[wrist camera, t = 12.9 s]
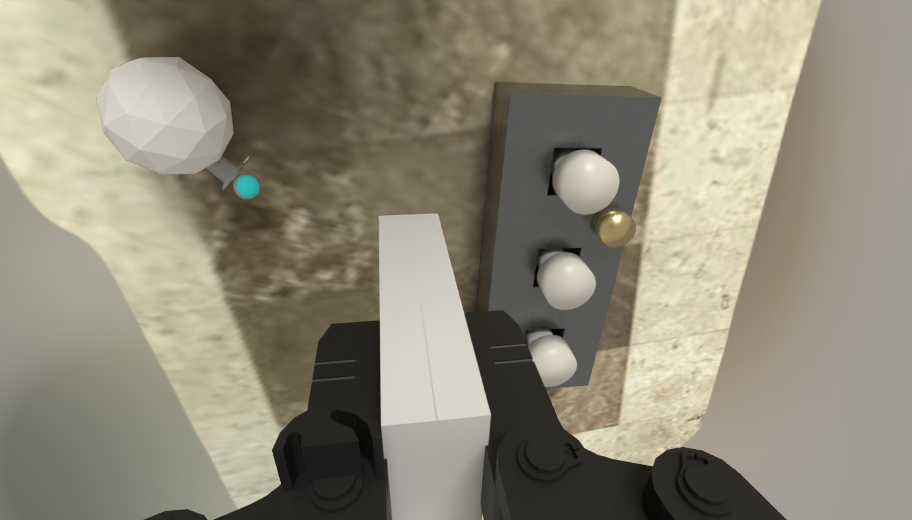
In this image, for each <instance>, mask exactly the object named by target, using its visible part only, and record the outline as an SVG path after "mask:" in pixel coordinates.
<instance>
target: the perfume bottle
mask: <svg viewBox="0 0 912 520" xmlns="http://www.w3.org/2000/svg"><path fill="white" fill-rule="evenodd" d="M97 104H98V108H99V113H100V117H101V122H102V126H103V131H104V134H105V136H106V137H107V138H108V139H109V140H110V142H111V143H112V144H113V145H114V146H115V148H116V149H117V150H118V151H119V152H120V153H121V155H122V156H123V157H124V158H125V159H126V160H127V161H130V162H132V163H135V164H137V165H140V166H142V167H145V168H147V169H150V170H152V171H155V172H157V173H159V174H196V173H198V172H200V171H201V170H203V169H205V168H206V169H208V170H209V171H210V172H211V173H213V174H214V175H215V176H216V177H217V178H218V179H220V180H221V181H222V182H223V183H224V185H223V188H222V190H221V192H222V191H223V190H224V189H225V188H226V187H227V185H228V184H229V183H230V182H232V183H233V187H234V191H235V193H236V195H237V196H238V197H240V198H242V199H246V200H248V199H252V198H254V197H255V196H257V195H258V193H259V191H260V184H259V181H258V180H257V179H256V178H255V177H253V176H251V175H248V174H243V175H240V176H237V175H238V172H239V170H240V169H241V167H242V166H243V165H244V163H245V162H246V161H247V160H248V158H249V156H248V157H247V158H246V159H245V160H244V161H243V162H242V163H241V164H242V165H240V166H238V167H236V166H234V165H233V164H232V163H231V162H229V161H228V160H227V159H226V158H225V157H224V156H223V155H222V154H223V153H224V151H225V149H226V147H227V145H228V143H229V141H230V140H231V138H232V136H233V134H234V131H233V123H232V114H231V106H230V101H229V100H228V99H227V98H226V97H225V95H224V94H223V93H222V92H221V91H220V89H219V88H218V87H217V86H216V85H215V83H214V82H213V81H212V80H211V79H210V78H209V77H208V76H206V75H205V74H203V73H202V72H200V71H199V70H197V69H196V68H194V67H193V66H191V65H190V64H188V63H187V62H186V61H184V60H183V59H181V58H180V57H151V58H138V59H135V60H133V61H130V62H127V63H125V64H122V65H119V66H117V67H114V68H112V69H111V71H110V73H109V75H108V77H107V79H106V81H105V83H104V85H103V87H102V89H101V91H100V93H99V95H98V97H97Z"/></svg>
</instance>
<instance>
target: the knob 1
mask: <svg viewBox="0 0 912 520" xmlns="http://www.w3.org/2000/svg"><path fill="white" fill-rule="evenodd" d="M525 340H526V343H527V345H528V348H529V350H530V353H531V355H532V357H533V362H535V365H536V367H537V369H538V372H539V374H540V377H541V379H542V381H543V384H544V386H545V387H553V386H557V385H560V384H563V383H564V382H566V381H567V380H569V379H570V378H571V377H572V376H573V374H574V373H575V371H576V368H577V361H576V359H575V357H574V355H573V353H572V352H571V350H570V348H569V346H568V344H567V342H566V341H565V340H564V339H563V338H562V337H560V336H557V335H553V333H552V331H551V330H550V329H544V330H526V334H525Z"/></svg>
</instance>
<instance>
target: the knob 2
mask: <svg viewBox="0 0 912 520" xmlns="http://www.w3.org/2000/svg"><path fill="white" fill-rule="evenodd" d="M551 175H552V176H553V179H552V183H553V188H554V191H555V193H556V194H557V195H558V197H559V198H560V199H561V200H562V201H563V202H564V203H565V204H566V205H567V206H568V208H569V209H571V210H572V211H573V212H575V213H578V214H585V215H586V214H593V213H596V212H598V211H600V210H602V209H604V208H605V207H606V206H608V205H609V204H610V203H611V201H612V200H613V199H614V197H615V195H616V193H617V191H618V188H619V175H618V172H617V170H616V168H615V167H614V166H613V165H612V164H611V163H610V162H608V161H607V160H606V159H604V158H603V157H601V156H600V155H599V154H597V153H596V152H594V151H591V150H585V149H584V150H577V151H576V150H574V149H573V148H554V154H553V161H552V167H551Z"/></svg>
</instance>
